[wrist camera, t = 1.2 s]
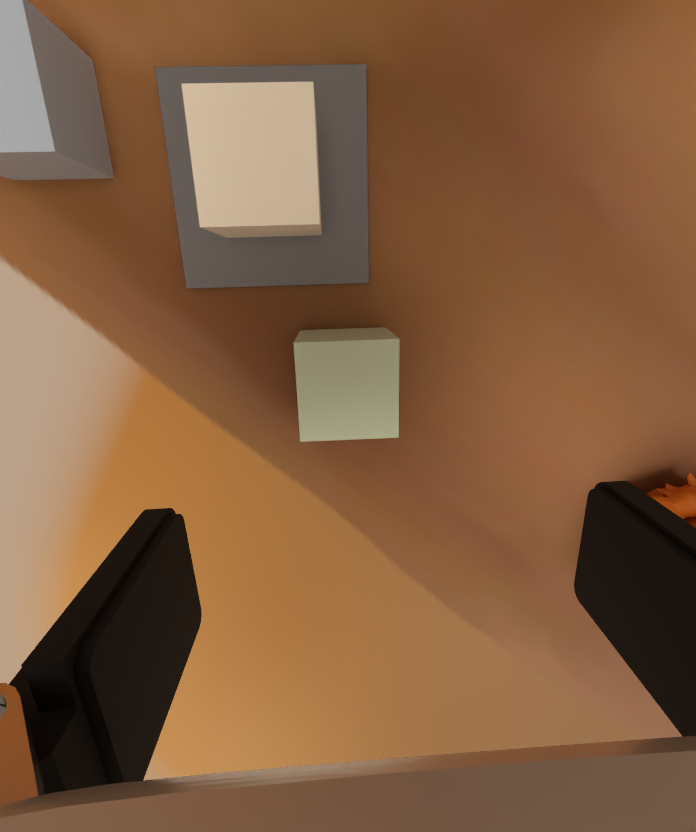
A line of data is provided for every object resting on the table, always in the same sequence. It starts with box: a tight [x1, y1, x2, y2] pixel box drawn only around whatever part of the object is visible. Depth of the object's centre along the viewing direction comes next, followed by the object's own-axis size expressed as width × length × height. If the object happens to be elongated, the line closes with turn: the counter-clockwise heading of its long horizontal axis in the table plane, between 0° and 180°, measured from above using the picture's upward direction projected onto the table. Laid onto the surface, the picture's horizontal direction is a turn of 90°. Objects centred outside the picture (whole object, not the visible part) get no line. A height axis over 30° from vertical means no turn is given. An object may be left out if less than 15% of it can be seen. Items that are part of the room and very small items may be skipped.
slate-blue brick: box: [0, 0, 114, 180], centre depth 18 cm, size 5×5×5 cm
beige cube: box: [181, 82, 322, 238], centre depth 19 cm, size 5×5×5 cm
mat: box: [155, 64, 369, 289], centre depth 22 cm, size 10×10×1 cm
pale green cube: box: [293, 327, 399, 442], centre depth 23 cm, size 5×5×5 cm
